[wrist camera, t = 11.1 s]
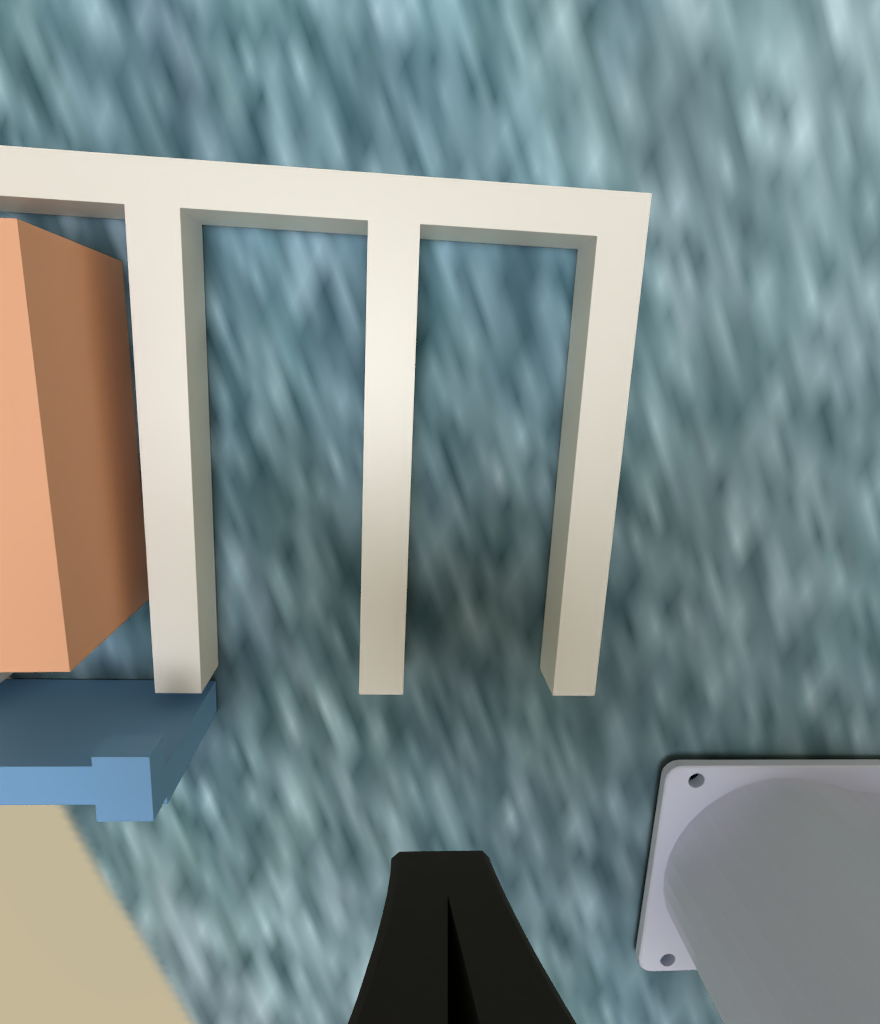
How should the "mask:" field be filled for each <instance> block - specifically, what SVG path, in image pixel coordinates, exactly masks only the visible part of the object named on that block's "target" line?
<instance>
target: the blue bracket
mask: <svg viewBox="0 0 880 1024" xmlns="http://www.w3.org/2000/svg"><path fill="white" fill-rule="evenodd" d="M216 712H217V704H216V681H209V682H208V683H207V685H206V686H205V688H204V690H203V691H202V693H155V683H154V680H67V679H5V680H4V681H2V682H1V683H0V805H77V804H96V814H97V822H107V821H154V819H155V818H156V816H157V814H158V812H159V810H160V808H161V806H162V805H163V804H168V802H169V800H170V798H171V796H172V794H173V792H174V791H175V789H176V787H177V785H178V783H179V781H180V779H181V777H182V776H183V774H184V772H185V770H186V768H187V766H188V764H189V762H190V761H191V759H192V757H193V755H194V753H195V751H196V749H197V747H198V746H199V744H200V742H201V740H202V738H203V736H204V734H205V732H206V730H207V729H208V727H209V725H210V723H211V721H212V719H213V717H214V715H215V714H216Z"/></svg>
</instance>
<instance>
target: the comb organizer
mask: <svg viewBox="0 0 880 1024" xmlns="http://www.w3.org/2000/svg"><path fill="white" fill-rule="evenodd" d="M651 196H652V193H639V192H626V191H612V190H599V189H585V188H571V187H558V186H544V185H531V184H517V183H503V182H490V181H476V180H463V179H449V178H436V177H422V176H408V175H395V174H381V173H368V172H354V171H340V170H327V169H313V168H300V167H286V166H272V165H259V164H245V163H232V162H218V161H205V160H191V159H177V158H164V157H150V156H137V155H123V154H109V153H96V152H82V151H69V150H55V149H42V148H28V147H14V146H1V145H0V212H16V213H31V214H46V215H61V216H77V217H92V218H107V219H122V220H125V223H126V239H127V254H128V270H129V286H130V302H131V318H132V334H133V350H134V366H135V381H136V397H137V413H138V429H139V445H140V461H141V477H142V492H143V508H144V524H145V540H146V556H147V572H148V588H149V604H150V619H151V635H152V651H153V667H154V683H155V693H202V691H203V690H204V688H205V686H206V685H207V683H208V682H209V680H210V678H211V677H212V675H213V673H214V672H215V670H216V668H217V667H218V638H217V612H216V585H215V558H214V531H213V504H212V477H211V450H210V423H209V396H208V369H207V342H206V315H205V288H204V261H203V234H202V225H214V226H229V227H245V228H260V229H275V230H290V231H306V232H321V233H336V234H351V235H367V236H368V248H367V301H366V354H365V406H364V459H363V512H362V565H361V617H360V670H359V694H388V695H403V679H404V652H405V625H406V598H407V570H408V543H409V516H410V488H411V461H412V434H413V407H414V379H415V352H416V325H417V297H418V270H419V243H420V239H428V240H443V241H458V242H474V243H489V244H504V245H519V246H535V247H550V248H565V249H578V252H577V263H576V274H575V285H574V296H573V307H572V318H571V329H570V340H569V351H568V362H567V373H566V384H565V395H564V406H563V417H562V428H561V439H560V450H559V461H558V472H557V483H556V494H555V505H554V516H553V527H552V538H551V549H550V561H549V572H548V583H547V594H546V605H545V616H544V627H543V638H542V649H541V660H540V670H541V672H542V674H543V676H544V678H545V680H546V683H547V685H548V687H549V689H550V691H551V693H552V695H553V696H595V688H596V679H597V670H598V661H599V653H600V644H601V635H602V626H603V617H604V609H605V600H606V591H607V582H608V573H609V565H610V556H611V547H612V538H613V530H614V521H615V512H616V503H617V494H618V486H619V477H620V468H621V459H622V450H623V442H624V433H625V424H626V415H627V407H628V398H629V389H630V380H631V371H632V363H633V354H634V345H635V336H636V327H637V319H638V310H639V301H640V292H641V283H642V275H643V266H644V257H645V248H646V240H647V231H648V222H649V213H650V204H651ZM13 673H14V672H0V683H1V682H2V681H4V680H5V679H6V678H7V677H9V676H10V675H11V674H13Z"/></svg>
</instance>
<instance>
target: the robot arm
mask: <svg viewBox="0 0 880 1024" xmlns="http://www.w3.org/2000/svg"><path fill="white" fill-rule="evenodd" d="M696 773H698V775H697V777H695V778H694V779H691V780H689V778H690V777H691V776H692V775H693V774H696ZM635 952H636V957H637V960H638V962H639V964H640V966H641V967H642V968H643V969H645V970H647V971H674V970H697V971H698V973H699V975H700V977H701V979H702V981H703V983H704V985H705V987H706V989H707V991H708V993H709V995H710V997H711V999H712V1001H713V1003H714V1005H715V1007H716V1009H717V1011H718V1013H719V1015H720V1017H721V1019H722V1021H723V1023H724V1024H880V759H856V760H675V761H671V762H670V763H668V764H667V765H666V766H665V767H664V768H663V770H662V773H661V779H660V786H659V793H658V800H657V807H656V814H655V820H654V827H653V834H652V841H651V848H650V855H649V862H648V869H647V875H646V882H645V889H644V896H643V903H642V910H641V917H640V924H639V931H638V937H637V944H636V951H635ZM348 1024H576V1022H575V1020H574V1019H573V1017H572V1016H571V1014H570V1012H569V1011H568V1009H567V1007H566V1006H565V1004H564V1002H563V1001H562V999H561V997H560V995H559V994H558V992H557V990H556V989H555V987H554V985H553V983H552V982H551V980H550V978H549V976H548V975H547V973H546V971H545V969H544V968H543V966H542V964H541V963H540V961H539V959H538V957H537V956H536V954H535V952H534V950H533V948H532V946H531V944H530V943H529V941H528V939H527V937H526V935H525V933H524V931H523V929H522V927H521V925H520V924H519V922H518V920H517V918H516V916H515V914H514V912H513V910H512V908H511V906H510V904H509V902H508V900H507V898H506V896H505V893H504V891H503V889H502V887H501V885H500V883H499V880H498V878H497V876H496V874H495V871H494V869H493V867H492V864H491V862H490V859H489V857H488V856H487V855H486V854H485V853H484V852H483V851H422V852H399V853H398V854H396V855H395V856H394V857H393V858H392V859H391V873H390V880H389V886H388V892H387V897H386V902H385V906H384V911H383V915H382V919H381V922H380V926H379V930H378V934H377V938H376V941H375V945H374V948H373V951H372V954H371V957H370V960H369V963H368V967H367V970H366V973H365V976H364V979H363V982H362V986H361V989H360V992H359V995H358V998H357V1001H356V1004H355V1006H354V1009H353V1012H352V1015H351V1017H350V1020H349V1022H348Z"/></svg>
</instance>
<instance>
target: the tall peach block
mask: <svg viewBox="0 0 880 1024" xmlns="http://www.w3.org/2000/svg"><path fill="white" fill-rule="evenodd" d="M148 600H149V588H148V572H147V556H146V544H145V532H144V520H143V508H142V495H141V483H140V471H139V459H138V447H137V435H136V422H135V410H134V398H133V386H132V374H131V361H130V349H129V337H128V325H127V313H126V301H125V288H124V276H123V264H122V261H120V260H117V259H115V258H112V257H110V256H108V255H105V254H103V253H100V252H98V251H95V250H93V249H90V248H88V247H85V246H83V245H81V244H78V243H76V242H73V241H71V240H68V239H66V238H63V237H61V236H58V235H56V234H53V233H51V232H49V231H46V230H44V229H41V228H39V227H36V226H34V225H31V224H29V223H26V222H24V221H21V220H19V219H14V218H0V672H70V671H71V670H72V669H74V668H75V667H76V666H77V665H78V664H79V663H80V662H81V661H82V660H83V659H84V658H86V657H87V656H88V655H89V654H90V653H91V652H92V651H93V650H94V649H95V648H96V647H97V646H99V645H100V644H101V643H102V642H103V641H104V640H105V639H106V638H107V637H108V636H109V635H111V634H112V633H113V632H114V631H115V630H116V629H117V628H118V627H119V626H120V625H121V624H123V623H124V622H125V621H126V620H127V619H128V618H129V617H130V616H131V615H132V614H133V613H135V612H136V611H137V610H138V609H139V608H140V607H141V606H142V605H143V604H144V603H145V602H147V601H148Z"/></svg>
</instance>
